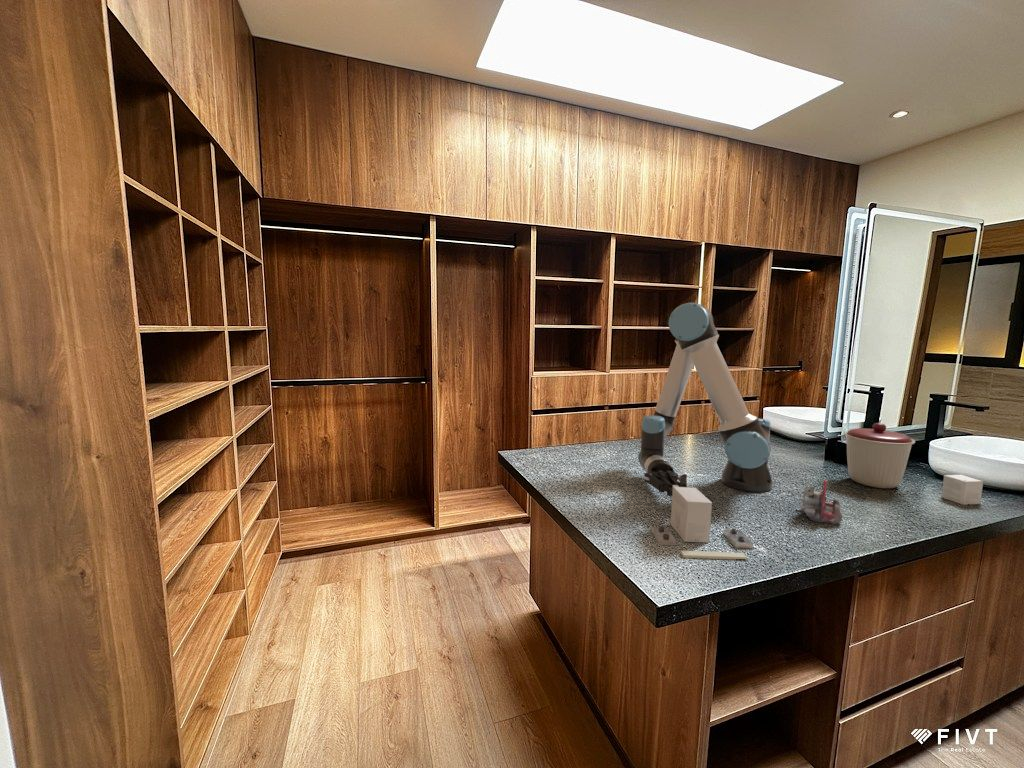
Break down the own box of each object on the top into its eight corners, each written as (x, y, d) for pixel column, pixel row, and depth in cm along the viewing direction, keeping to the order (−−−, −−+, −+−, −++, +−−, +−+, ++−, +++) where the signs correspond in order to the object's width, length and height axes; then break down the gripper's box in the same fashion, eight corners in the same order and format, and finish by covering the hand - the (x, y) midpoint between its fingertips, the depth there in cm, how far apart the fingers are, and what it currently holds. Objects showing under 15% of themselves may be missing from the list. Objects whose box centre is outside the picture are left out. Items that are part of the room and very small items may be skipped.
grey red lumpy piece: (855, 523, 108) (823, 482, 111) (811, 538, 114) (782, 498, 117) (853, 509, 117) (823, 471, 120) (812, 523, 123) (785, 486, 126)
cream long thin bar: (742, 555, 97) (742, 552, 97) (746, 559, 95) (747, 557, 95) (680, 553, 98) (680, 550, 98) (683, 557, 96) (683, 555, 96)
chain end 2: (739, 534, 107) (739, 527, 107) (753, 548, 100) (753, 541, 100) (723, 533, 108) (723, 527, 107) (735, 547, 101) (736, 540, 100)
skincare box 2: (981, 504, 126) (984, 481, 125) (962, 505, 126) (965, 481, 125) (958, 496, 132) (961, 474, 131) (940, 497, 132) (943, 474, 131)
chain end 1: (667, 531, 109) (667, 525, 108) (676, 545, 102) (676, 538, 101) (651, 531, 109) (652, 524, 109) (659, 544, 102) (659, 537, 102)
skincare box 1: (710, 543, 103) (713, 502, 102) (684, 542, 103) (686, 501, 102) (694, 523, 113) (696, 486, 112) (669, 523, 113) (671, 486, 112)
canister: (905, 497, 131) (913, 432, 129) (834, 482, 145) (839, 422, 142) (912, 484, 143) (919, 423, 141) (846, 471, 157) (851, 415, 154)
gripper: (679, 482, 136) (706, 512, 113) (638, 480, 137) (656, 511, 114) (680, 459, 135) (707, 485, 112) (638, 458, 136) (657, 484, 113)
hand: (682, 498), depth 113 cm, fingers closed
